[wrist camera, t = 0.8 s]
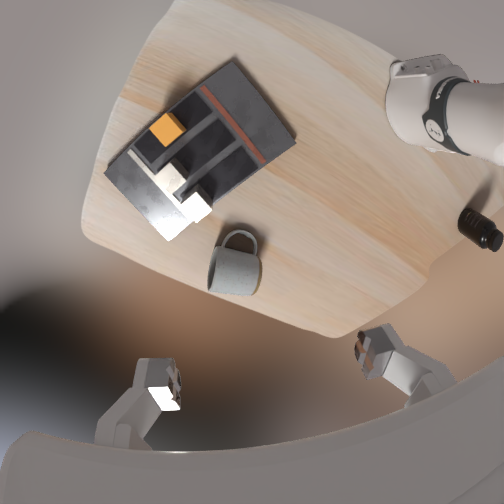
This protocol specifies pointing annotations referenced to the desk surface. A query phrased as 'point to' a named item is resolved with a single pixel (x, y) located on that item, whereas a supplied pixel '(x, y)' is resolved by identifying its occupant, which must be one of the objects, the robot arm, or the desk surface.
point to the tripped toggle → (167, 129)
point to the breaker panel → (201, 152)
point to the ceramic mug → (235, 269)
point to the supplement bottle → (480, 230)
